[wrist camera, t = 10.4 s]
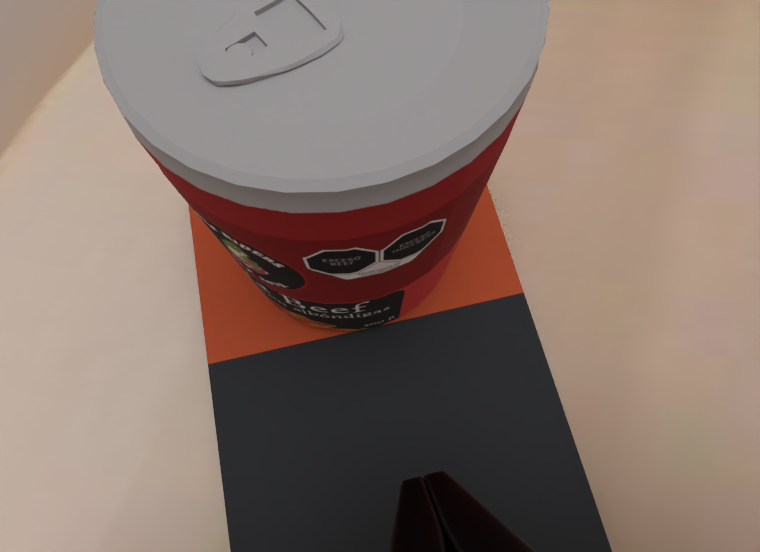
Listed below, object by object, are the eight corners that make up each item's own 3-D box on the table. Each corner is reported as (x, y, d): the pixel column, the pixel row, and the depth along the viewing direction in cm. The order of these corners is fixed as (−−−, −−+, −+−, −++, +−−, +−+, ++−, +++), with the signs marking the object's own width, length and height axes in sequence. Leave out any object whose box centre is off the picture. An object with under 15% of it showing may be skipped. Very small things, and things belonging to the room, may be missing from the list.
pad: (522, 294, 18) (523, 292, 18) (209, 365, 17) (207, 364, 17) (470, 141, 20) (471, 138, 20) (189, 196, 19) (187, 194, 19)
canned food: (210, 264, 18) (-15, 36, 8) (334, 120, 20) (293, -214, 10) (373, 380, 17) (375, 301, 6) (487, 214, 19) (631, -53, 8)
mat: (658, 696, 14) (663, 700, 14) (265, 819, 13) (263, 825, 13) (522, 294, 18) (523, 292, 18) (209, 365, 17) (207, 364, 17)
